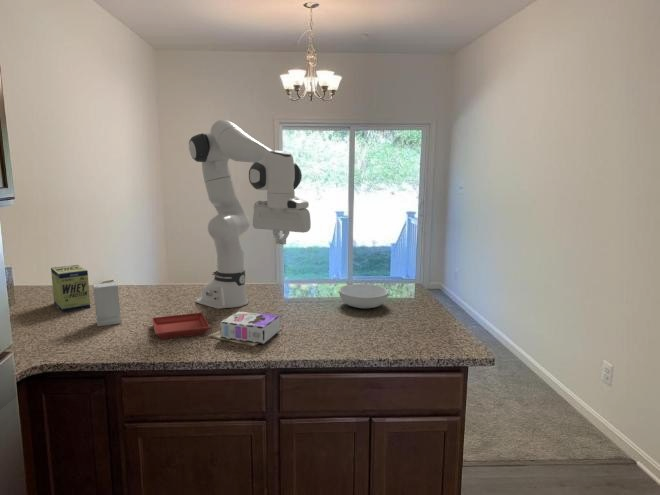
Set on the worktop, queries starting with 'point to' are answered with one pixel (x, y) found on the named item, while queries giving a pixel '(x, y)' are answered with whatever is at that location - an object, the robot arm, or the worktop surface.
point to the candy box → (250, 327)
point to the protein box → (70, 288)
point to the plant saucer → (180, 325)
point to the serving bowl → (363, 295)
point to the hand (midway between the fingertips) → (281, 244)
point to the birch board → (217, 335)
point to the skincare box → (107, 303)
